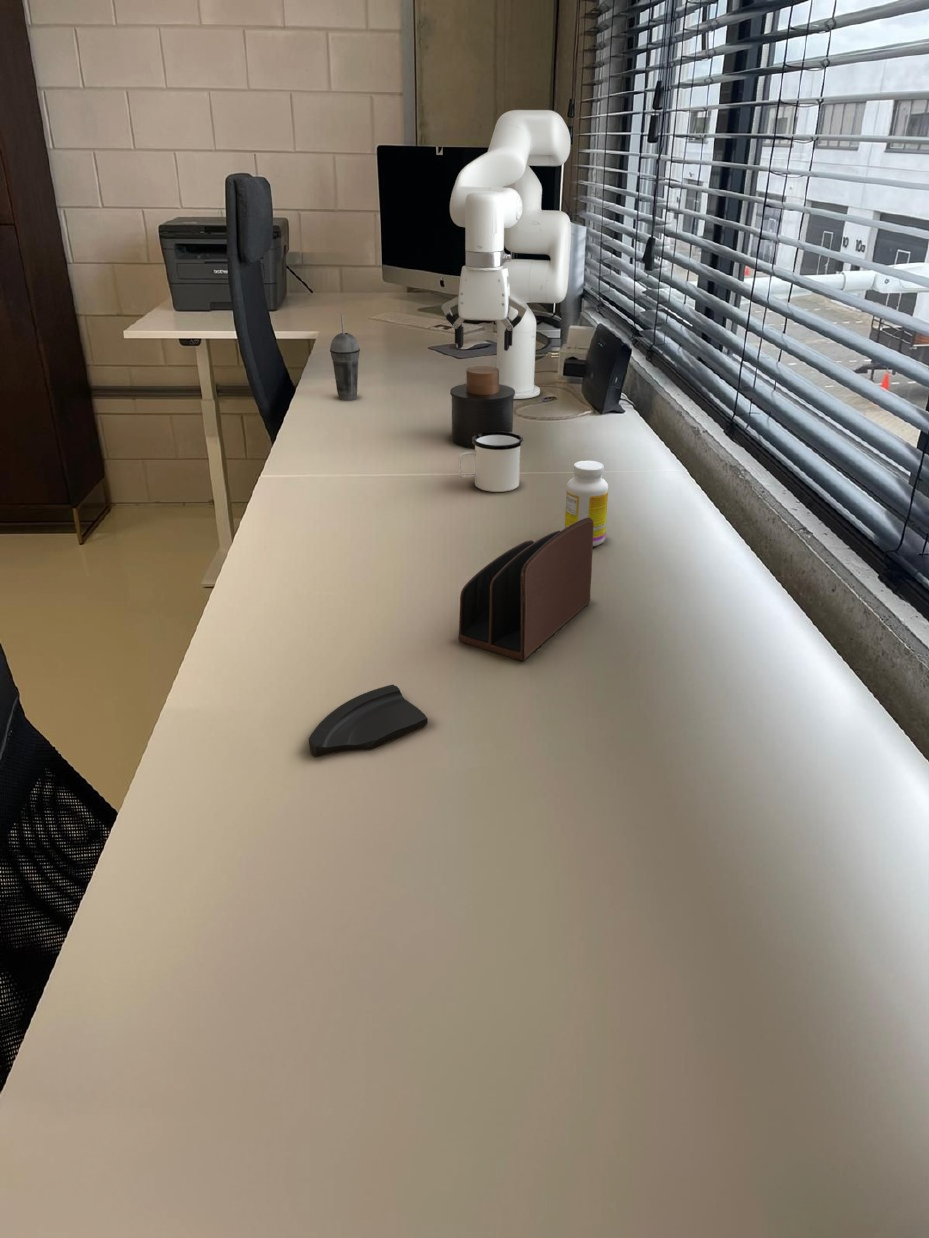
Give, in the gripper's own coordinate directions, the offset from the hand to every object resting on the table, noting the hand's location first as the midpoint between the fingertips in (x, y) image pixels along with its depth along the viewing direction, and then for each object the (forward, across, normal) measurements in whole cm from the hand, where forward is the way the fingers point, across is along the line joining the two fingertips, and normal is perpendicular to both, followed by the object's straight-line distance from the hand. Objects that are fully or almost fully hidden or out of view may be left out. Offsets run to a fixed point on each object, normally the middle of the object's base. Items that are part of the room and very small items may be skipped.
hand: (483, 348), depth 194 cm
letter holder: (+18, -19, +82) cm, 86 cm away
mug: (+19, -6, +29) cm, 35 cm away
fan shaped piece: (+18, -4, +110) cm, 111 cm away
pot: (+19, 0, +1) cm, 19 cm away
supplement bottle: (+19, -25, +52) cm, 60 cm away
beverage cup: (+20, +38, -27) cm, 51 cm away
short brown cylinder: (+9, 0, +1) cm, 9 cm away
